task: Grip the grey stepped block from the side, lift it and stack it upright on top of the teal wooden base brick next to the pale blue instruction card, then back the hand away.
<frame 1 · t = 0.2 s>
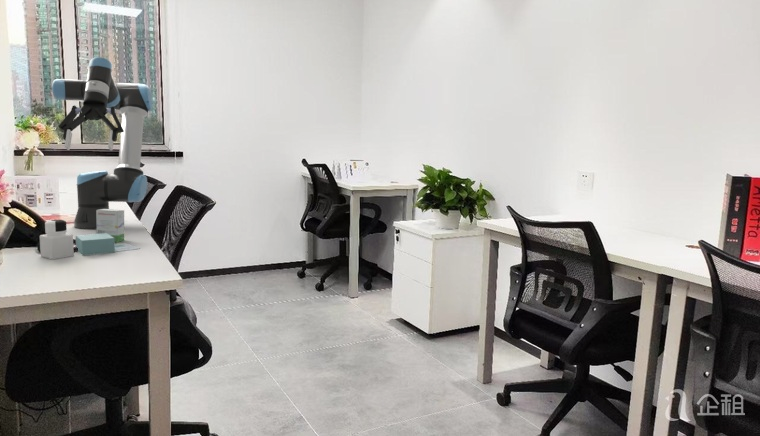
hand: (88, 148, 191), 35 cm above the table, tool tilted 35°, fingers open, 13 cm apart
base brick: (95, 251, 195), on the table
grey stepped block: (57, 256, 186), on the table
instruction card: (121, 247, 202), on the table
ink box: (111, 241, 213), on the table
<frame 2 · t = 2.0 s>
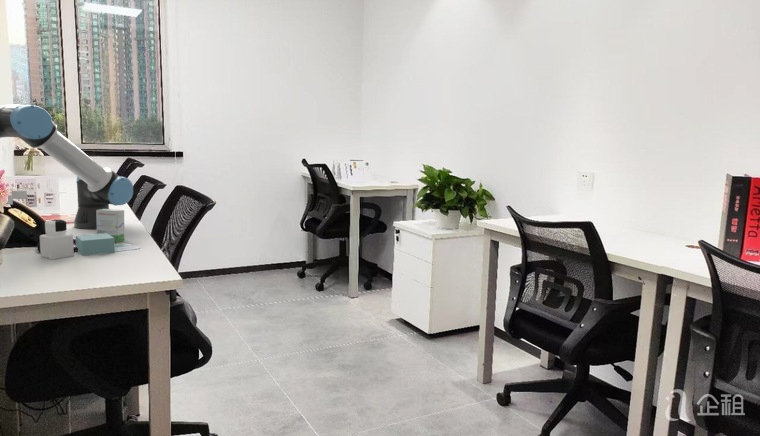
hand: (19, 197, 180), 19 cm above the table, tool horizontal, fingers open, 13 cm apart
nothing on the table moved.
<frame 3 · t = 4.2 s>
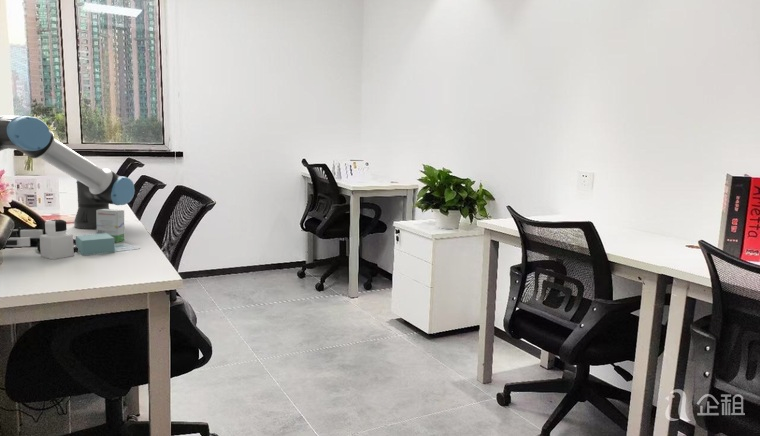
hand: (36, 237, 183), 6 cm above the table, tool horizontal, fingers open, 13 cm apart
nothing on the table moved.
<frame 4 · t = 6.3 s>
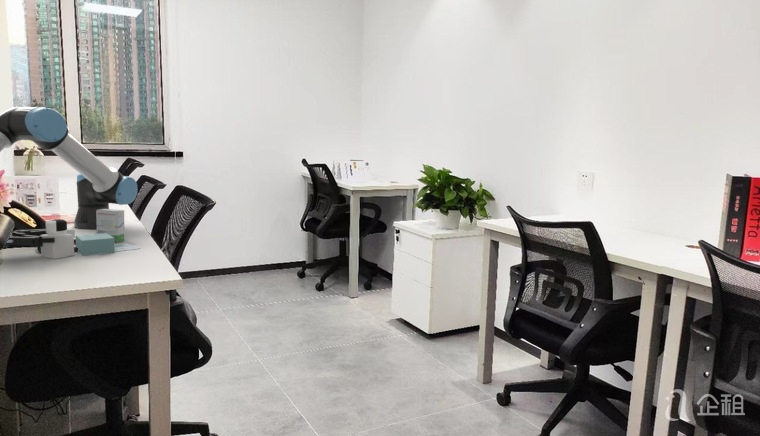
hand: (70, 236, 186), 6 cm above the table, tool horizontal, fingers closed on grey stepped block, 10 cm apart
grey stepped block: (58, 256, 186), on the table, touching gripper
everything else where it was.
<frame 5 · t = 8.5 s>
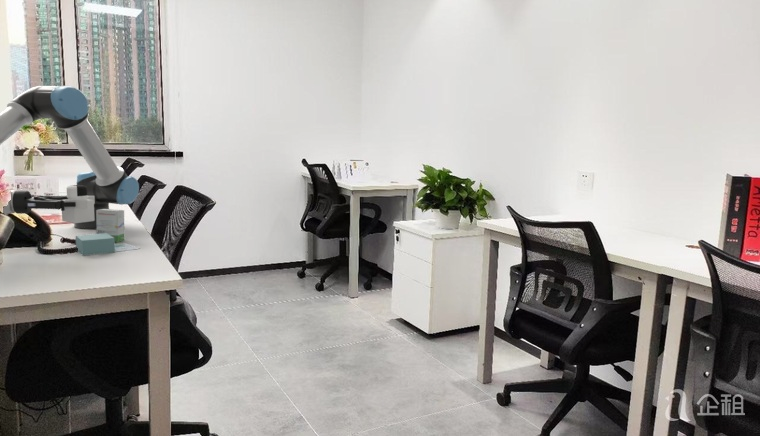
hand: (91, 201, 189), 18 cm above the table, tool horizontal, fingers closed on grey stepped block, 10 cm apart
grey stepped block: (78, 221, 189), point 11 cm above the table, touching gripper
everything else where it was.
when the fingers open (13 cm above the table, at t = 10.6 s): grey stepped block drops 1 cm, resting on base brick.
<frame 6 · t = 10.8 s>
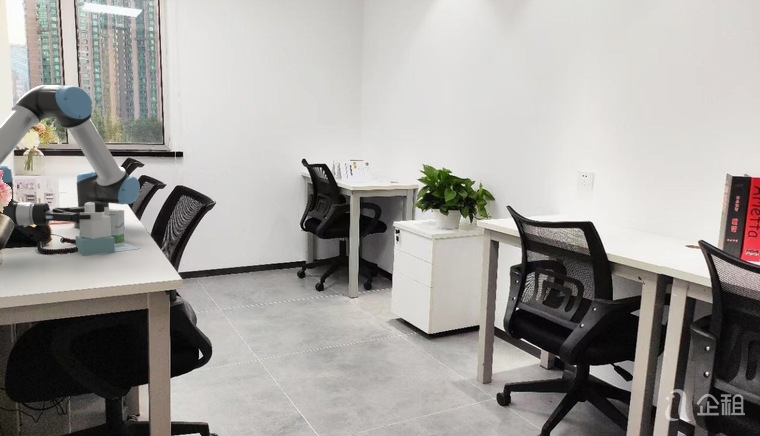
hand: (105, 213, 194), 13 cm above the table, tool horizontal, fingers open, 12 cm apart
grey stepped block: (95, 237, 194), point 5 cm above the table, touching base brick
everything else where it was.
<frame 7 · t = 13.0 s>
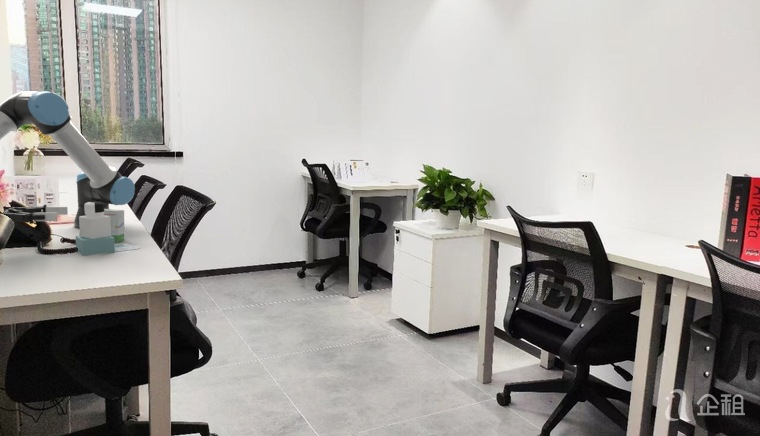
hand: (62, 213, 190), 13 cm above the table, tool horizontal, fingers open, 13 cm apart
nothing on the table moved.
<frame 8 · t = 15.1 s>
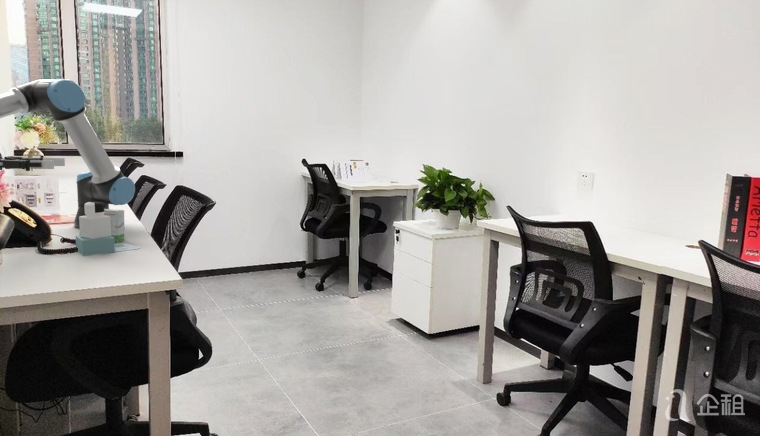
hand: (59, 163, 188), 30 cm above the table, tool horizontal, fingers open, 13 cm apart
nothing on the table moved.
at the end: grey stepped block inside the target area on the base brick (0.3 cm from its centre), point 4.8 cm above the base brick's base; grey stepped block tilted 0°; the gripper is holding nothing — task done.
